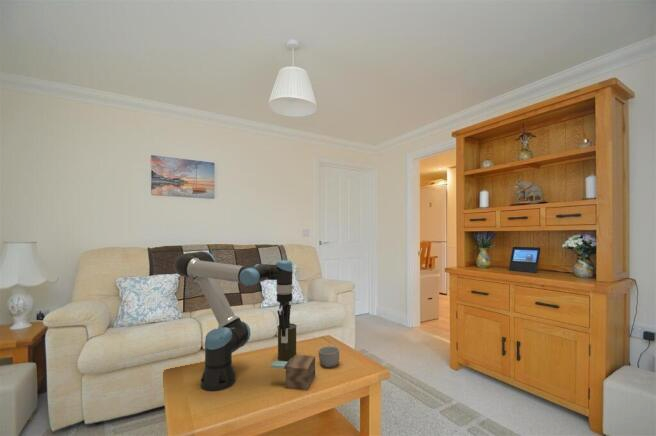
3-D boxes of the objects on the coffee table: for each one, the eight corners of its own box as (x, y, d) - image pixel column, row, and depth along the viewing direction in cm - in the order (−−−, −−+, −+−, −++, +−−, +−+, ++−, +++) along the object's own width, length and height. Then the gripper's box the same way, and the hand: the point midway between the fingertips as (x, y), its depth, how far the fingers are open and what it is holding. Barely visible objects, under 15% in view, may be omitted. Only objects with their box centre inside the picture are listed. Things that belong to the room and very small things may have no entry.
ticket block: (285, 387, 141) (285, 366, 141) (295, 373, 155) (295, 354, 155) (307, 390, 139) (307, 368, 139) (315, 375, 153) (315, 356, 153)
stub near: (270, 367, 143) (270, 365, 143) (274, 363, 148) (274, 360, 148) (285, 369, 142) (285, 366, 142) (289, 364, 147) (289, 361, 147)
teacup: (337, 370, 158) (337, 354, 158) (316, 368, 160) (316, 352, 160) (341, 359, 172) (341, 344, 172) (322, 357, 174) (322, 342, 174)
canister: (278, 354, 178) (277, 318, 178) (296, 354, 179) (296, 318, 179) (276, 363, 167) (276, 324, 167) (296, 362, 168) (296, 324, 169)
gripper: (287, 296, 145) (287, 348, 145) (296, 290, 158) (296, 338, 158) (272, 295, 147) (271, 346, 146) (281, 289, 160) (281, 337, 159)
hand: (284, 342), depth 152 cm, fingers closed
